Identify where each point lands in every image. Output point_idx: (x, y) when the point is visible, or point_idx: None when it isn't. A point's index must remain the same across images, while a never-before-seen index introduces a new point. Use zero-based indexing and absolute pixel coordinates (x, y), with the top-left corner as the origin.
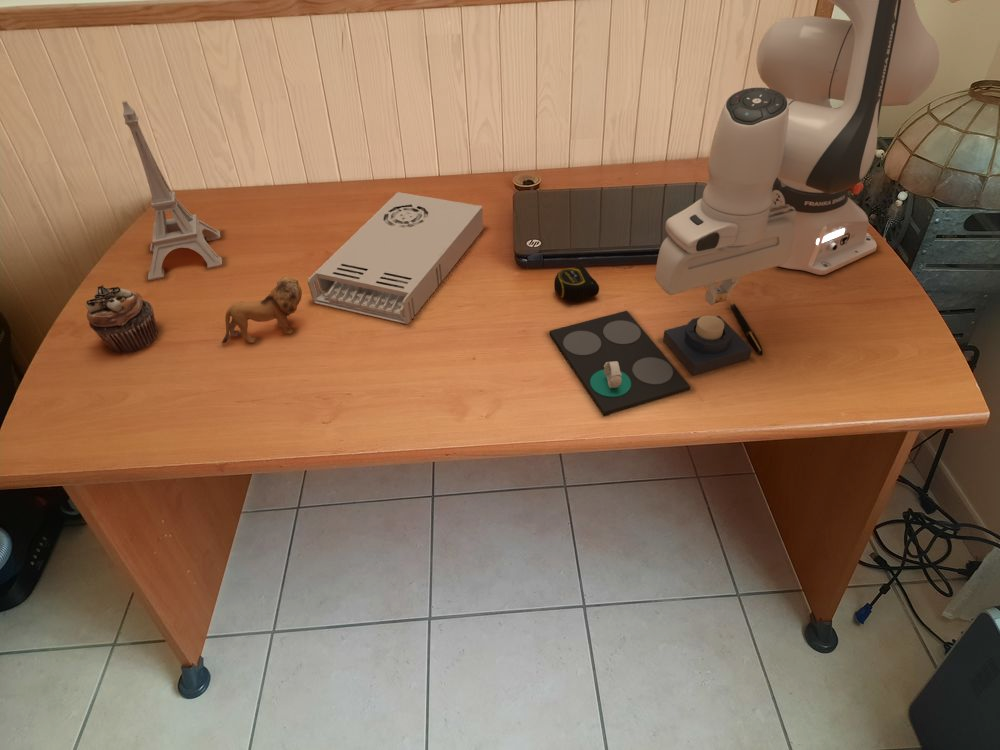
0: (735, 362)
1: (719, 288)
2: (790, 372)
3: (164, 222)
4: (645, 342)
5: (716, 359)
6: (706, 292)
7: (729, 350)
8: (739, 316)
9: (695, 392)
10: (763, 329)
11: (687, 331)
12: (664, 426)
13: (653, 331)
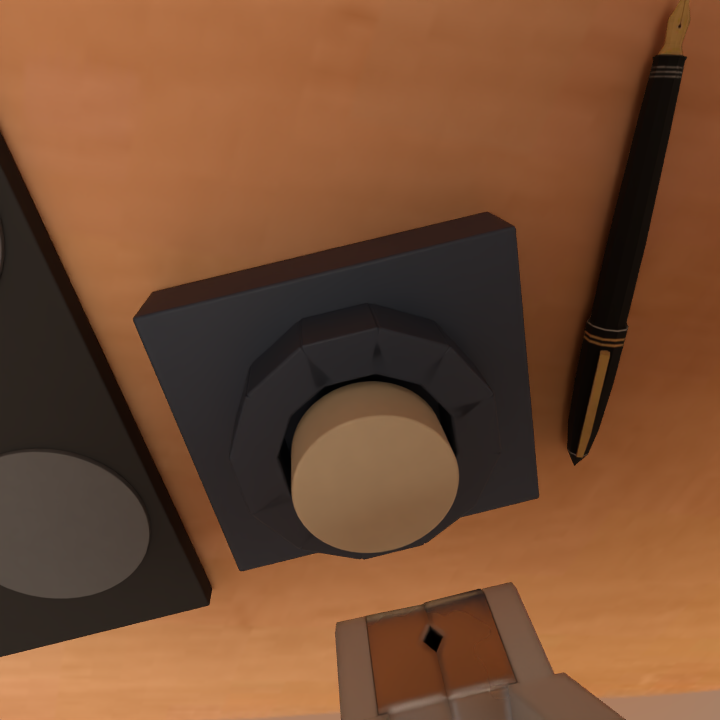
0: None
1: (480, 712)
2: (620, 530)
3: None
4: (31, 330)
5: None
6: (339, 692)
7: None
8: (637, 195)
9: (232, 596)
10: (693, 274)
11: (237, 452)
12: (86, 712)
13: (109, 195)
